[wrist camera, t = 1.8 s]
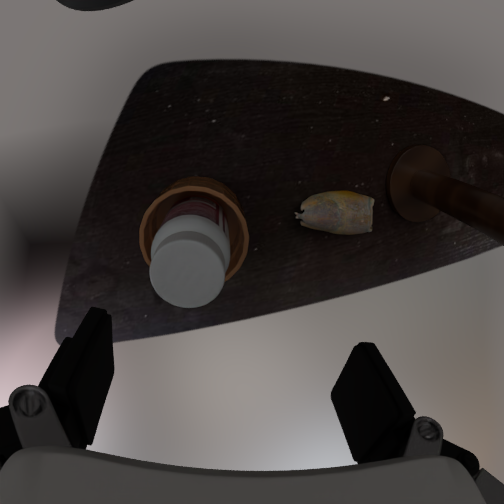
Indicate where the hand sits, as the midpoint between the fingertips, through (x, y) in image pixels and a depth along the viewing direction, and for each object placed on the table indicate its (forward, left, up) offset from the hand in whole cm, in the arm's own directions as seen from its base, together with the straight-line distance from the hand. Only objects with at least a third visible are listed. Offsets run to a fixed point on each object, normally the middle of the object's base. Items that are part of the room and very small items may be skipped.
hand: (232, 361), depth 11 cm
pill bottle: (-1, -3, -21) cm, 22 cm away
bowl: (-1, -3, -22) cm, 22 cm away
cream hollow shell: (+8, +7, -22) cm, 24 cm away
